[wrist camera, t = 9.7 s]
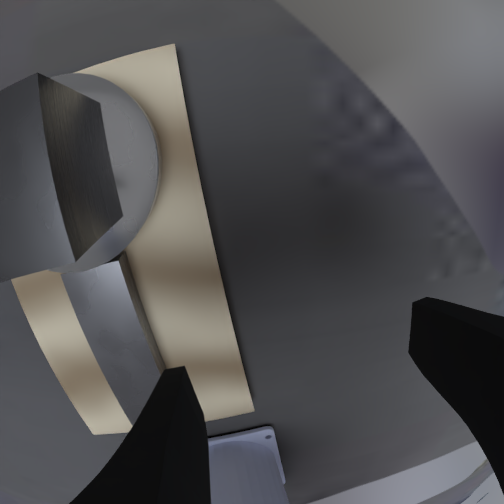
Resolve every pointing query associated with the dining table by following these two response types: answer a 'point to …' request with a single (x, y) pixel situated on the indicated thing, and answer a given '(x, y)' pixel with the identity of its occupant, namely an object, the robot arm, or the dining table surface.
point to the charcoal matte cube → (52, 177)
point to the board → (152, 271)
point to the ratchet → (119, 251)
